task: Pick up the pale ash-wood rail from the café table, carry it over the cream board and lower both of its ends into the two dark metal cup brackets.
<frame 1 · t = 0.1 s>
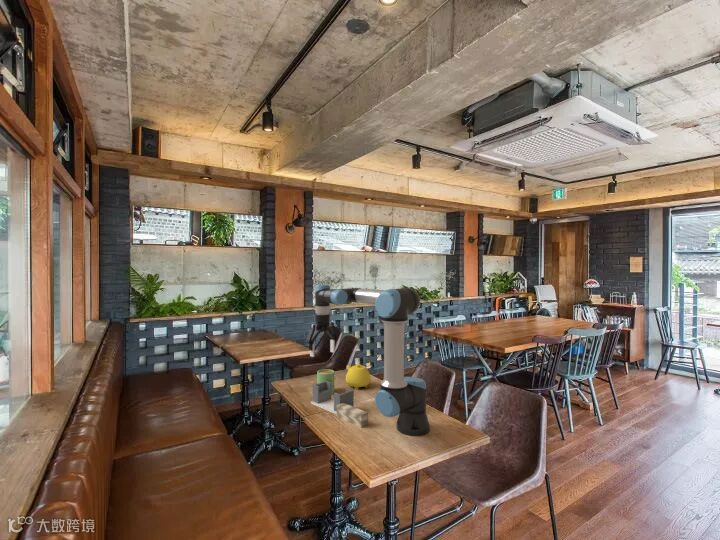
hand: (322, 354, 198), 28 cm above the table, fingers open, 13 cm apart
bracket board: (332, 406, 199), on the table
rail: (351, 421, 182), on the table
mug 2: (327, 391, 223), on the table
mug: (401, 407, 199), on the table
teapot: (356, 385, 234), on the table
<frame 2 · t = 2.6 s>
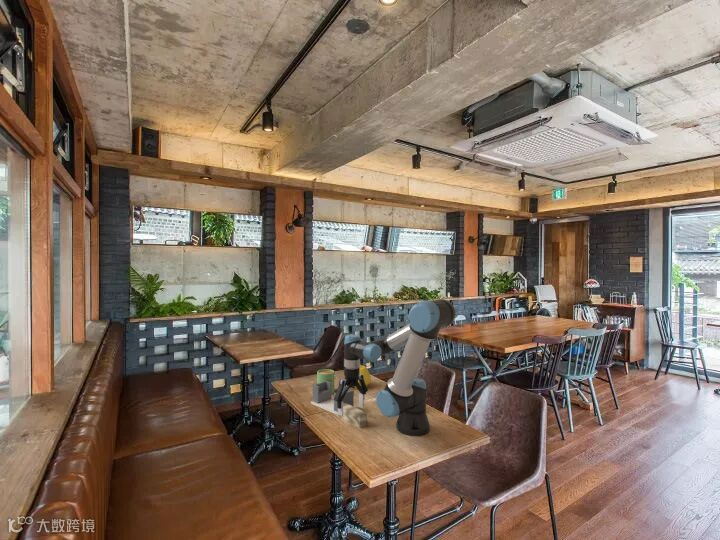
hand: (351, 410, 182), 5 cm above the table, fingers open, 13 cm apart
nothing on the table moved.
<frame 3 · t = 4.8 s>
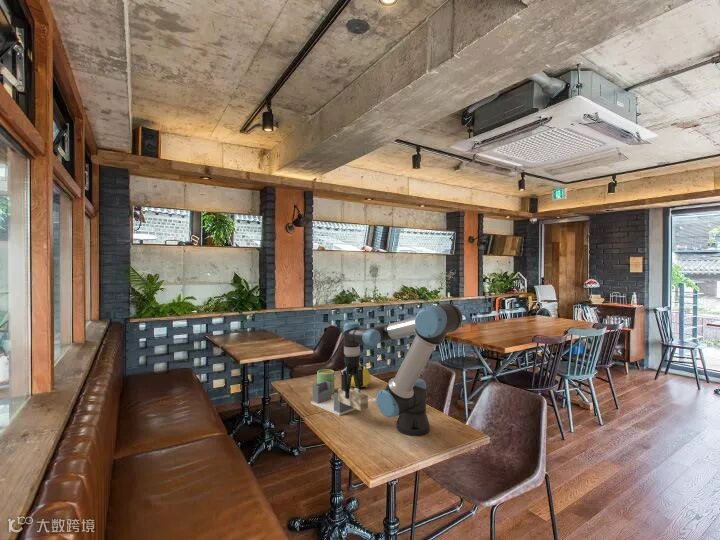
hand: (352, 403, 181), 9 cm above the table, fingers closed on rail, 5 cm apart
rail: (352, 404, 181), point 8 cm above the table, touching gripper
everything else where it was.
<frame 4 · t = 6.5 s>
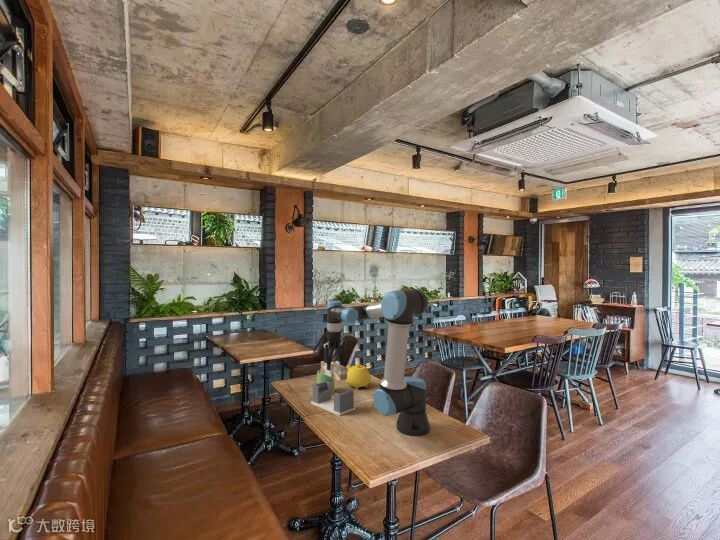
hand: (333, 374, 198), 17 cm above the table, fingers closed on rail, 5 cm apart
rail: (333, 375, 198), point 17 cm above the table, touching gripper
everything else where it was.
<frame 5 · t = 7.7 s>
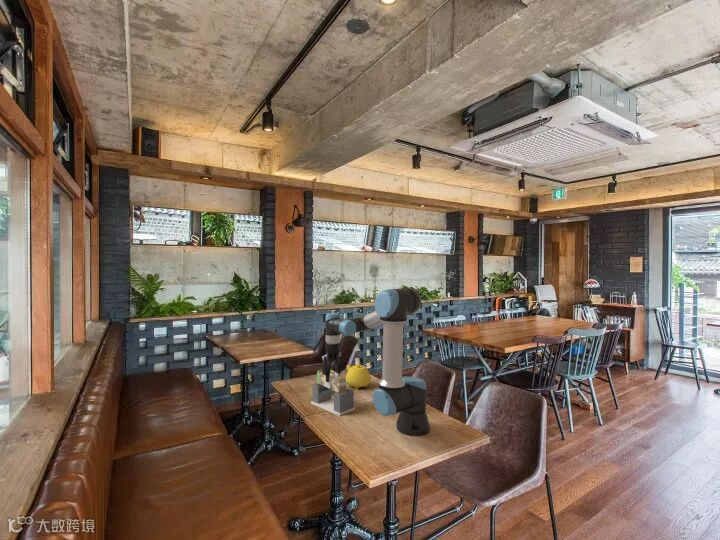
hand: (332, 386, 199), 11 cm above the table, fingers closed on rail, 5 cm apart
rail: (332, 387, 199), point 10 cm above the table, touching gripper
everything else where it was.
when the fingers open (7 cm above the table, at t = 8.7 s): rail stays where it is, resting on bracket board.
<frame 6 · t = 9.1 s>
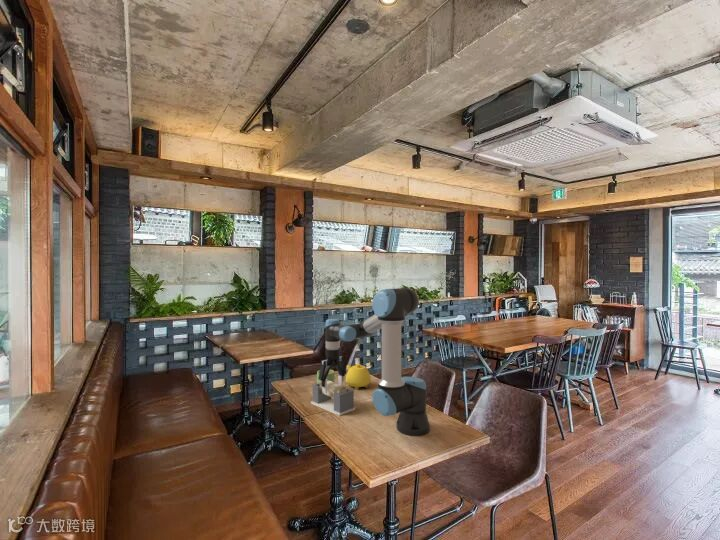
hand: (332, 390, 199), 9 cm above the table, fingers open, 10 cm apart
rail: (332, 395, 199), point 6 cm above the table, touching bracket board
everything else where it was.
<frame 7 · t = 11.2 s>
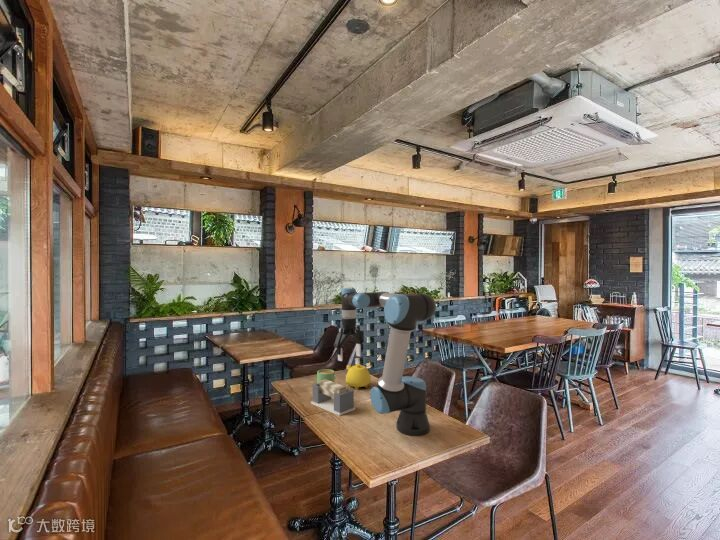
hand: (349, 358, 198), 26 cm above the table, fingers open, 13 cm apart
nothing on the table moved.
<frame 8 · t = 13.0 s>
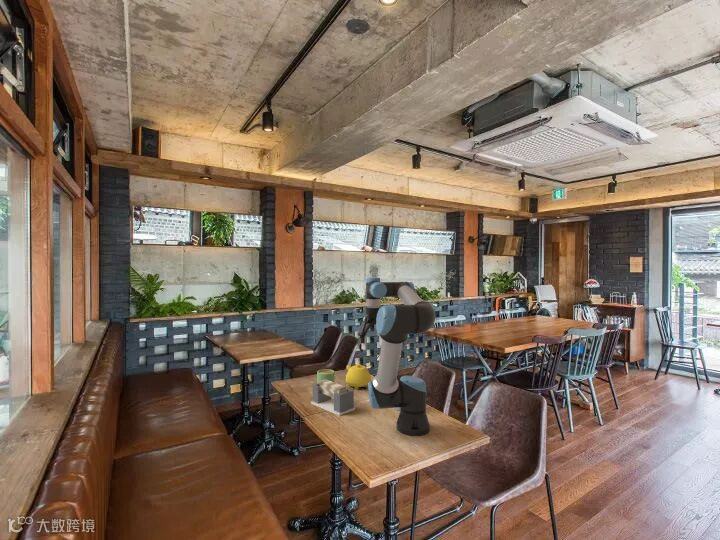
hand: (373, 347, 197), 32 cm above the table, fingers open, 13 cm apart
nothing on the table moved.
at the end: rail 0.2 cm off-centre on the bracket board, point 6.0 cm above the bracket board's base; rail tilted 0°; the gripper is holding nothing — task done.
